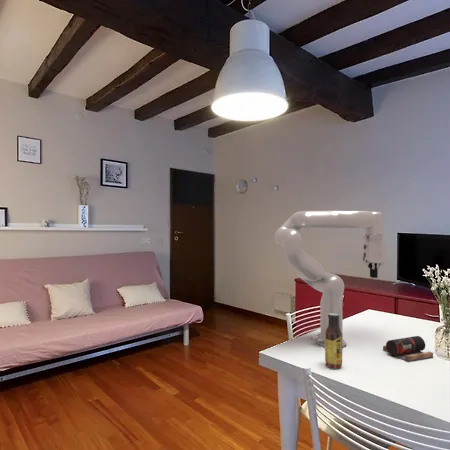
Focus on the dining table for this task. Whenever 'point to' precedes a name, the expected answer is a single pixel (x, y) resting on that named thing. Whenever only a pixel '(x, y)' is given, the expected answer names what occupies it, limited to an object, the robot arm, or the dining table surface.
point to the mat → (402, 356)
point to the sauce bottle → (333, 342)
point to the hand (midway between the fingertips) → (373, 277)
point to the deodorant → (405, 345)
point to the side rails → (416, 355)
